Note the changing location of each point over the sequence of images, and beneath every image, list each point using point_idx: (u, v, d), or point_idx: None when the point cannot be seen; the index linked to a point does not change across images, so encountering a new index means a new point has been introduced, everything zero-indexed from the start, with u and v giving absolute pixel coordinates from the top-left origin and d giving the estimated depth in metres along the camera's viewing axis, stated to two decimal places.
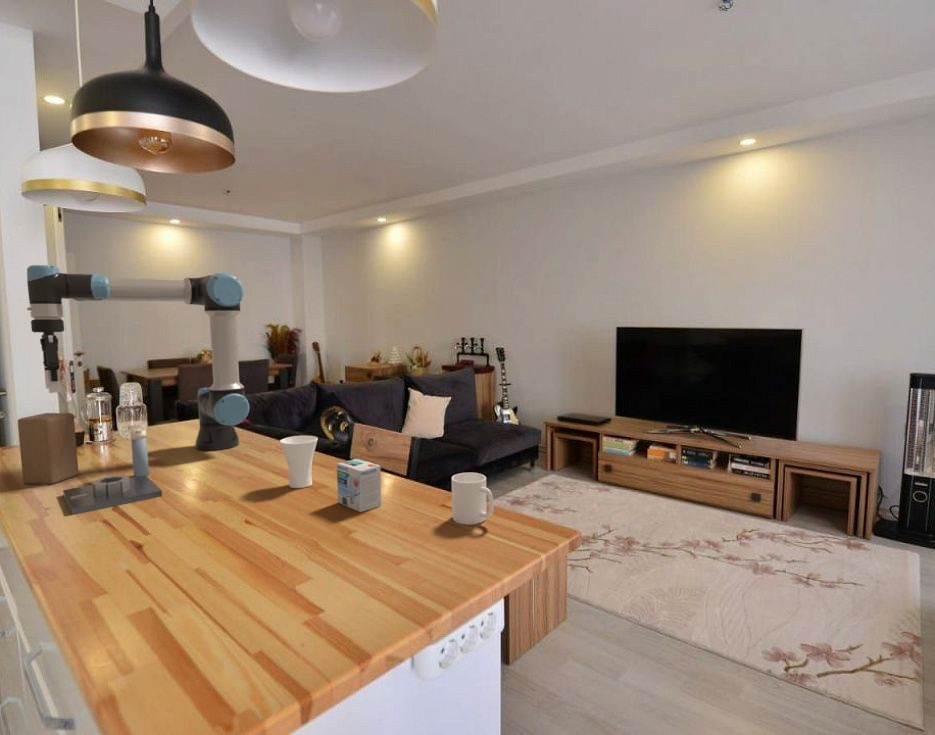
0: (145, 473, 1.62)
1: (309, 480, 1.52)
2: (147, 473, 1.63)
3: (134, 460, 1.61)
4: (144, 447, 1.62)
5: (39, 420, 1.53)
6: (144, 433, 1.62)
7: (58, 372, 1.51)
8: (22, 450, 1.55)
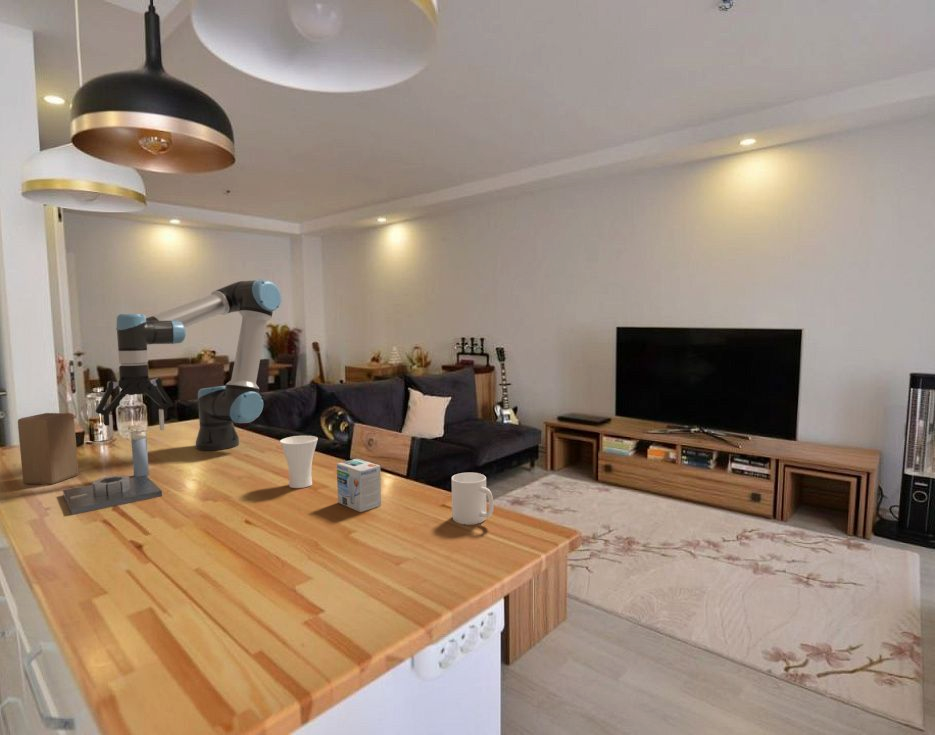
0: (145, 473, 1.62)
1: (309, 480, 1.52)
2: (147, 473, 1.63)
3: (134, 460, 1.61)
4: (144, 447, 1.62)
5: (39, 420, 1.53)
6: (144, 433, 1.62)
7: (109, 417, 1.56)
8: (22, 450, 1.55)
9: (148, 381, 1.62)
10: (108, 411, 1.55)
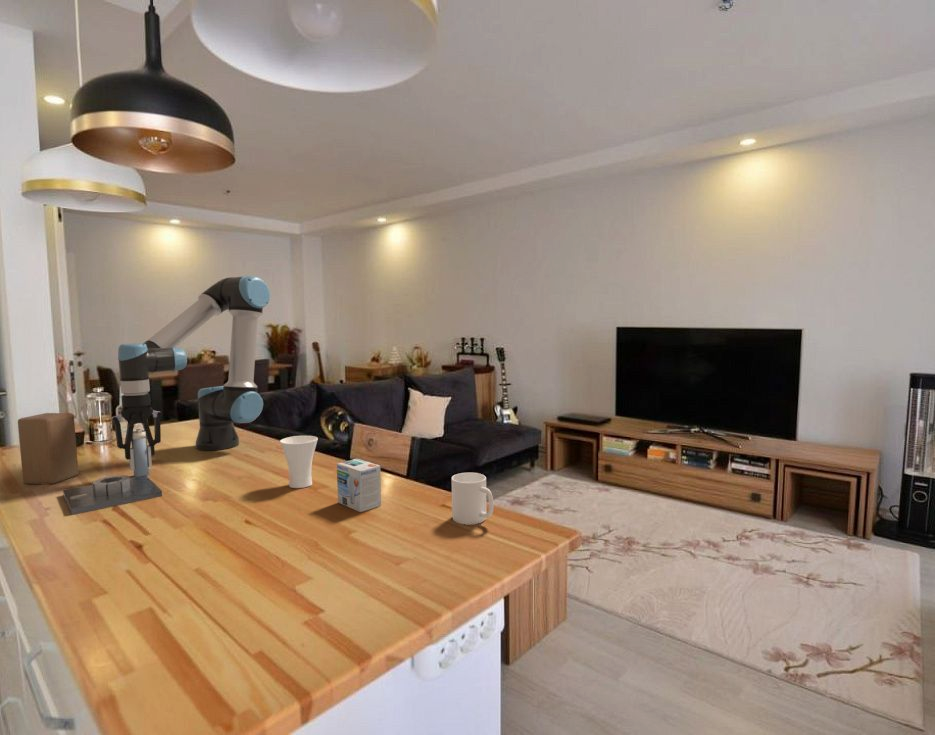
0: (145, 473, 1.63)
1: (309, 480, 1.52)
2: (147, 473, 1.63)
3: (134, 460, 1.61)
4: (144, 447, 1.62)
5: (39, 420, 1.53)
6: (144, 433, 1.62)
7: (130, 451, 1.60)
8: (22, 450, 1.55)
9: (151, 410, 1.63)
10: (128, 445, 1.60)
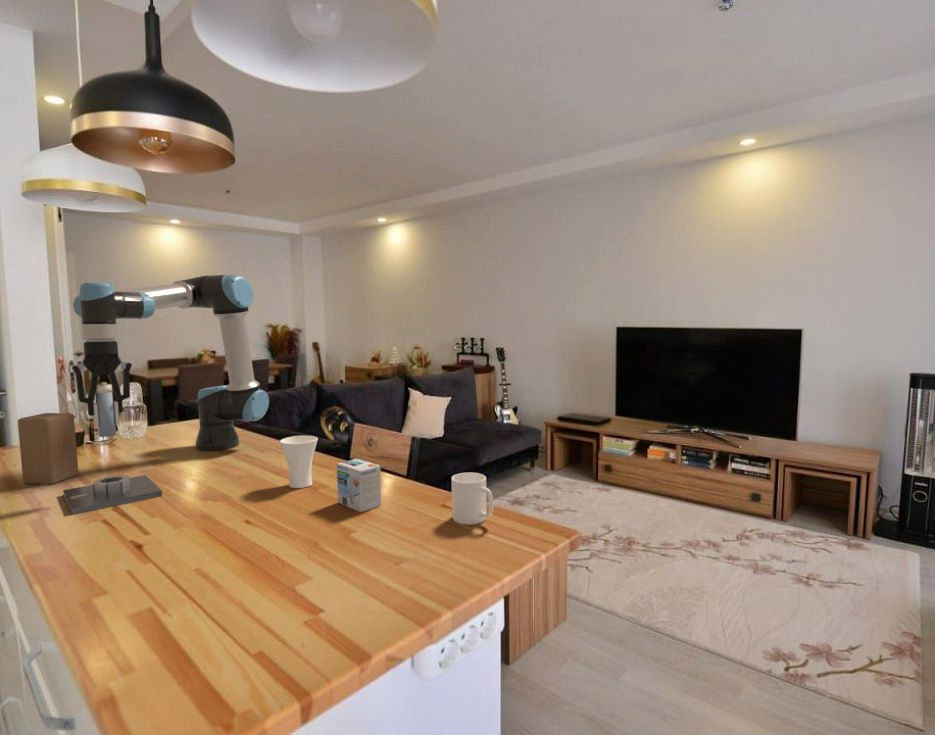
0: (111, 432, 1.42)
1: (309, 480, 1.52)
2: (114, 432, 1.43)
3: (98, 417, 1.41)
4: (110, 402, 1.42)
5: (39, 420, 1.53)
6: (110, 386, 1.42)
7: (93, 406, 1.40)
8: (22, 450, 1.55)
9: (118, 361, 1.43)
10: (91, 399, 1.39)
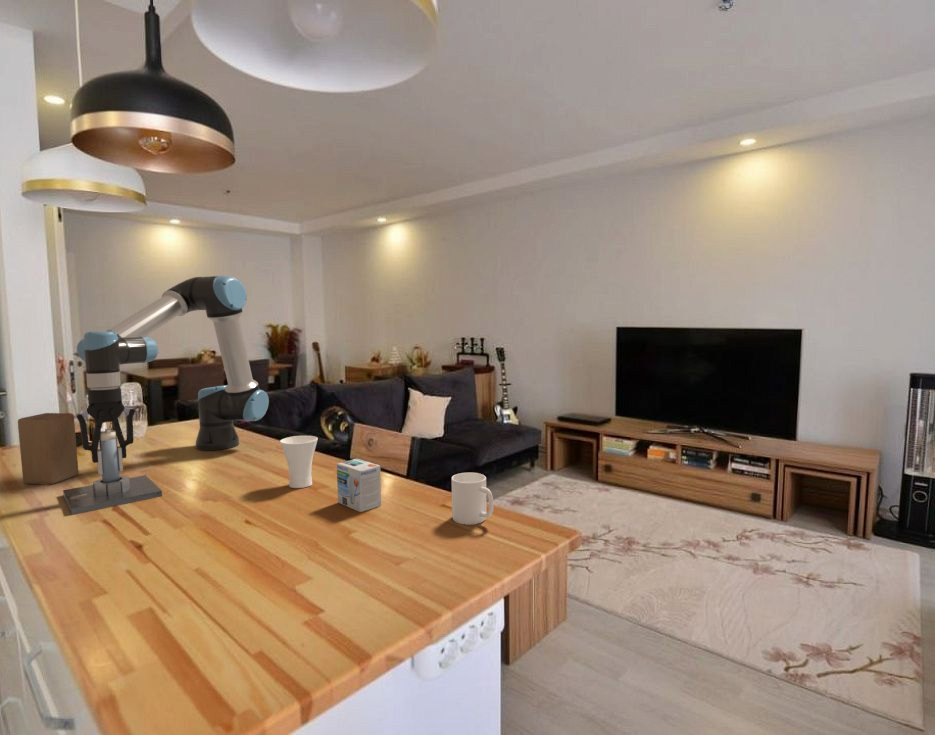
0: (115, 479, 1.44)
1: (309, 480, 1.52)
2: (117, 479, 1.44)
3: (102, 464, 1.42)
4: (114, 449, 1.43)
5: (39, 420, 1.53)
6: (114, 433, 1.43)
7: (97, 454, 1.41)
8: (22, 450, 1.55)
9: (122, 407, 1.44)
10: (95, 446, 1.41)
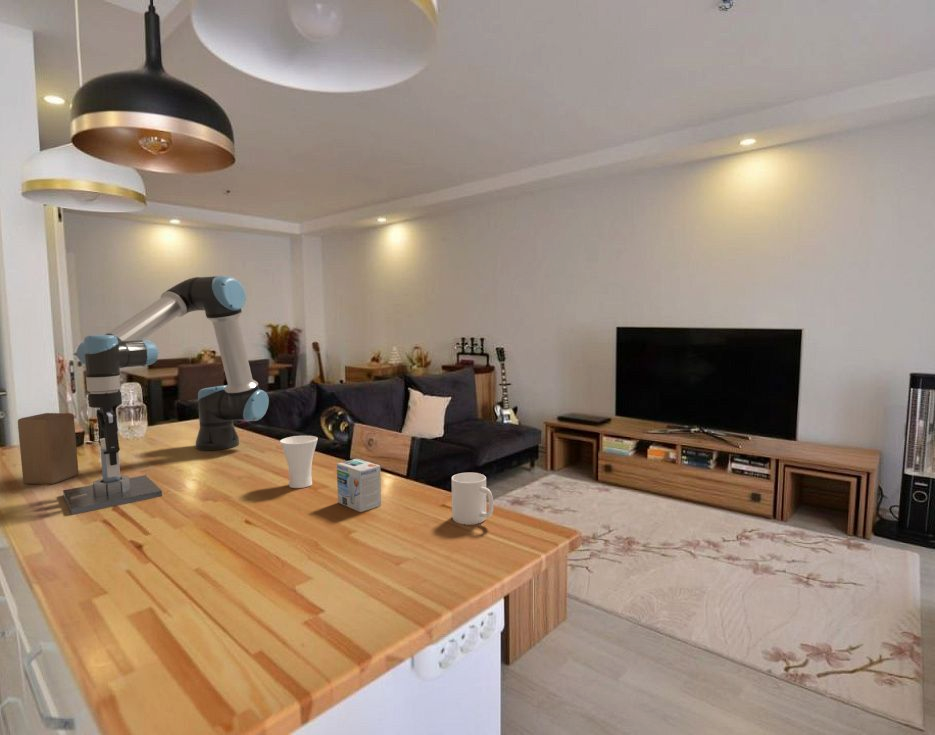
0: None
1: (309, 480, 1.52)
2: None
3: None
4: (103, 459, 1.42)
5: (39, 420, 1.53)
6: (103, 443, 1.42)
7: None
8: (22, 450, 1.55)
9: (103, 414, 1.39)
10: (100, 443, 1.47)
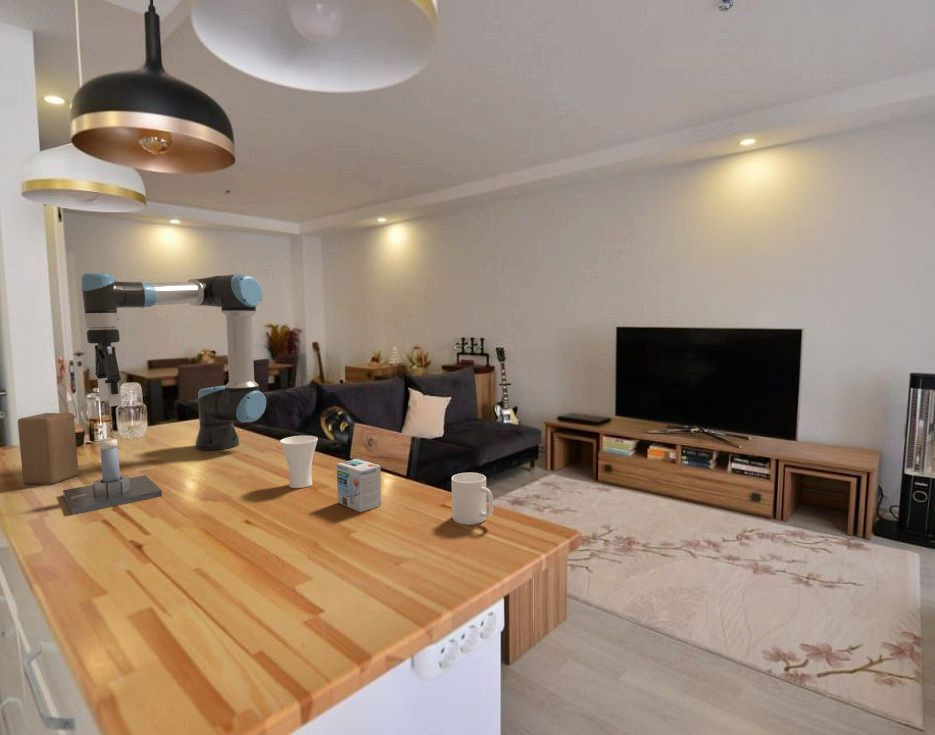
0: None
1: (309, 480, 1.52)
2: None
3: None
4: (103, 459, 1.42)
5: (39, 420, 1.53)
6: (102, 444, 1.42)
7: None
8: (22, 450, 1.55)
9: (102, 348, 1.45)
10: (97, 374, 1.53)
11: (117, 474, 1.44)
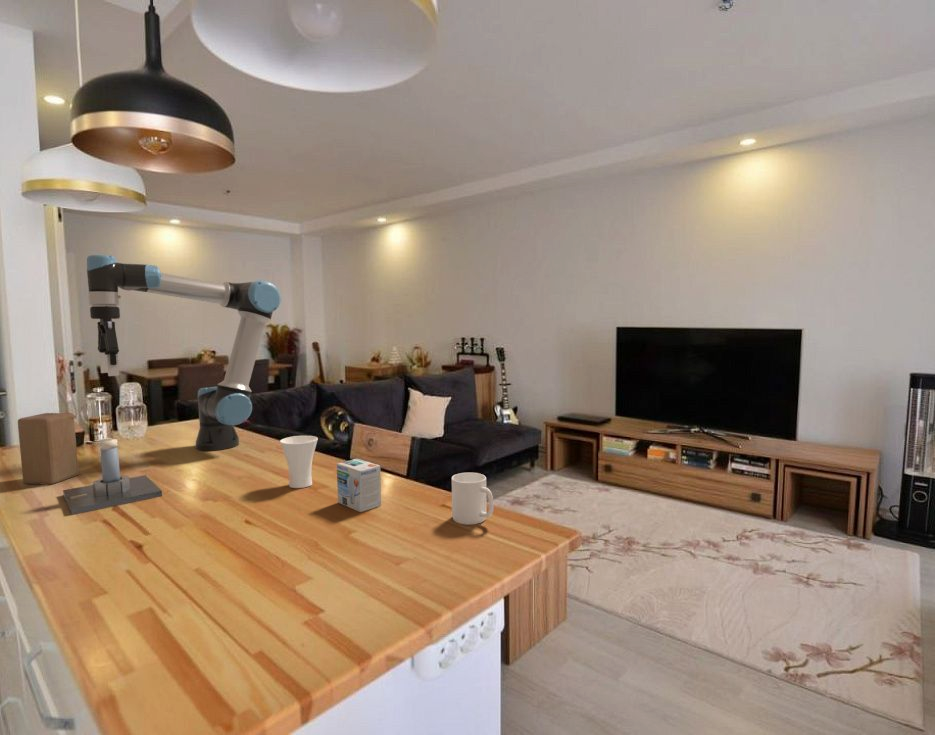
0: None
1: (309, 480, 1.52)
2: None
3: None
4: (103, 459, 1.42)
5: (39, 420, 1.53)
6: (102, 444, 1.42)
7: None
8: (22, 450, 1.55)
9: (103, 323, 1.59)
10: (99, 349, 1.67)
11: (117, 474, 1.44)
